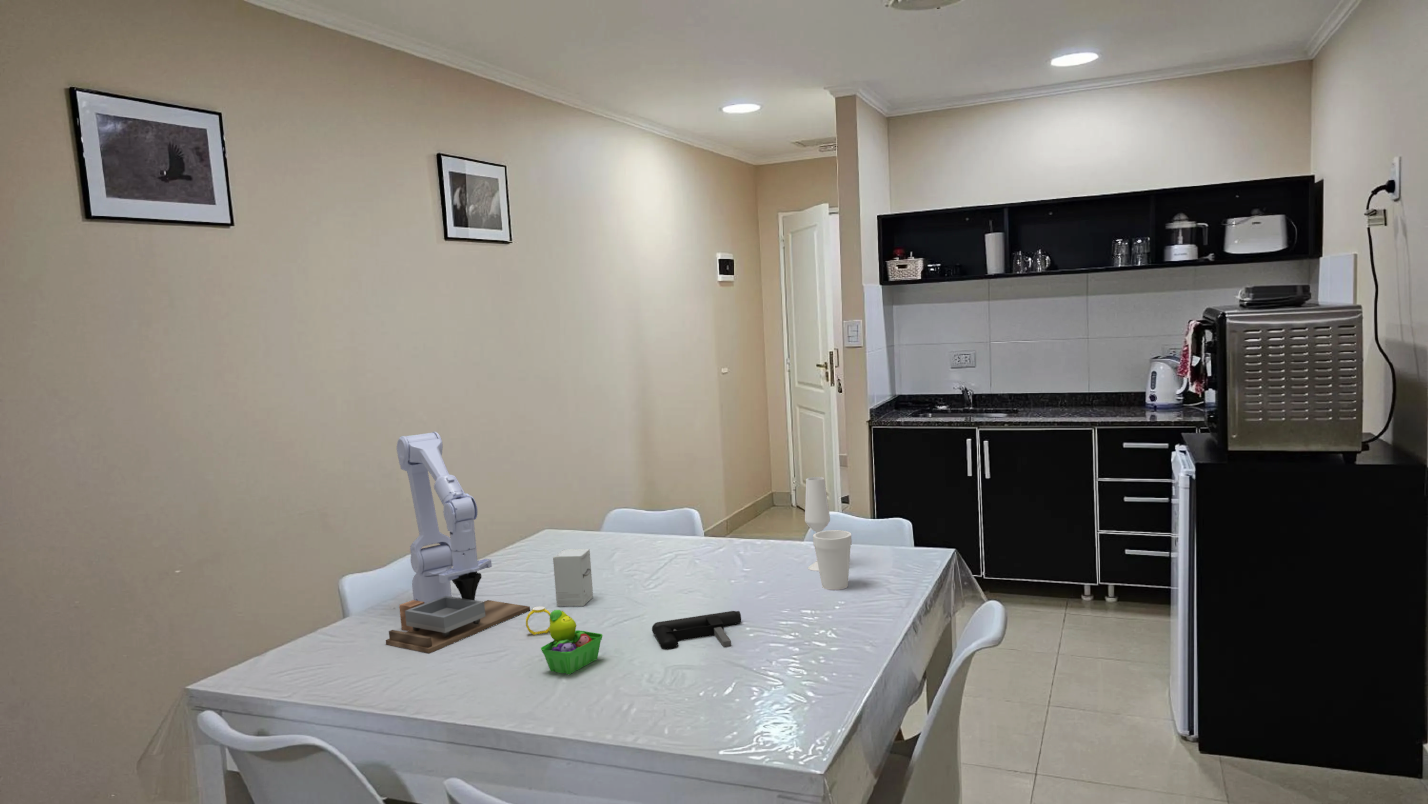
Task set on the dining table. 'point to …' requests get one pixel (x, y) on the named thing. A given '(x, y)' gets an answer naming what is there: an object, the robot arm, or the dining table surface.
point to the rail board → (435, 640)
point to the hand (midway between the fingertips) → (469, 604)
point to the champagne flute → (816, 508)
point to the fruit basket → (569, 645)
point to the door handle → (695, 628)
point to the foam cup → (833, 558)
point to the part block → (403, 608)
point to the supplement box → (573, 577)
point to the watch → (537, 610)
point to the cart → (445, 614)
